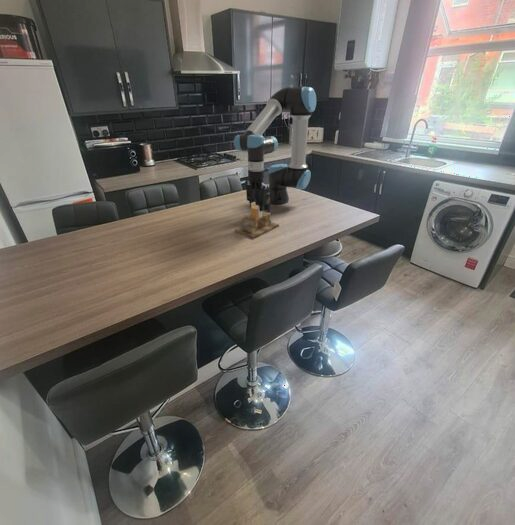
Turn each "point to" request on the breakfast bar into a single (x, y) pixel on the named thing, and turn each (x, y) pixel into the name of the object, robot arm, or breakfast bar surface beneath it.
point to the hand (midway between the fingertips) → (256, 215)
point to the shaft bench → (258, 233)
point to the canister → (266, 206)
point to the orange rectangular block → (255, 212)
